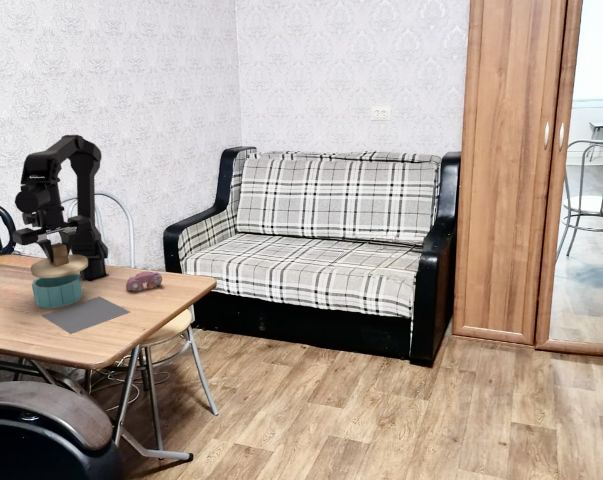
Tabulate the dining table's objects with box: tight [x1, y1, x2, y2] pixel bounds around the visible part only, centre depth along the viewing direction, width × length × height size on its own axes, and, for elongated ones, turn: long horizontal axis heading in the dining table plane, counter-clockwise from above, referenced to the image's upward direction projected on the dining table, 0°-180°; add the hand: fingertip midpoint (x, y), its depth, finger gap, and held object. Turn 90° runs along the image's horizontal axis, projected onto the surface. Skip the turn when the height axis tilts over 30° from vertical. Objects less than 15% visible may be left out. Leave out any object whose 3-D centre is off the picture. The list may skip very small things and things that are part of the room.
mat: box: [41, 296, 131, 335], centre depth 148 cm, size 16×16×1 cm
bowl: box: [31, 273, 83, 309], centre depth 157 cm, size 12×12×6 cm
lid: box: [30, 242, 88, 278], centre depth 152 cm, size 14×14×6 cm
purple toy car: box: [125, 270, 163, 292], centre depth 163 cm, size 10×5×7 cm, turn 118°
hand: (58, 260), depth 152 cm, fingers closed on lid, 3 cm apart
